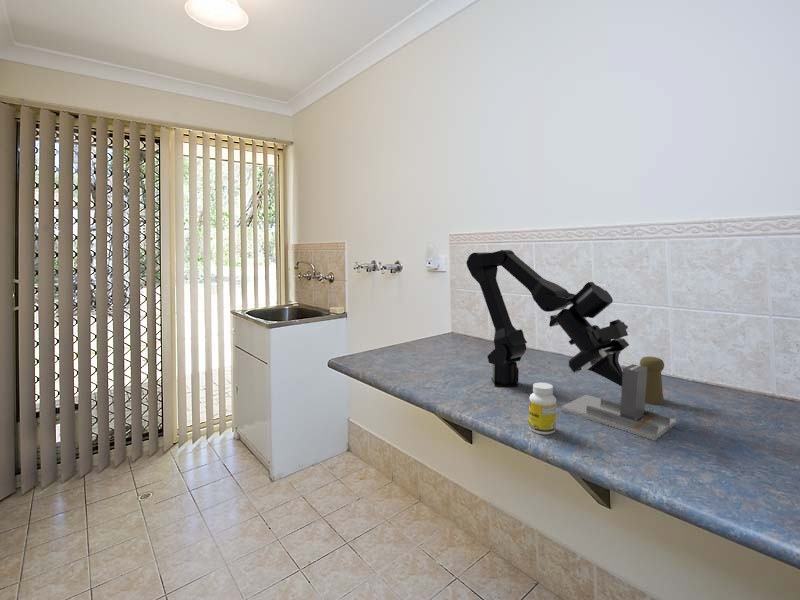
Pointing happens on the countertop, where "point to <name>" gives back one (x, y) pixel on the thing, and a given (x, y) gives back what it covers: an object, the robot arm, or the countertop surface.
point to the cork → (653, 379)
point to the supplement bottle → (542, 409)
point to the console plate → (619, 417)
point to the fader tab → (633, 391)
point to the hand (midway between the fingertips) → (625, 385)
